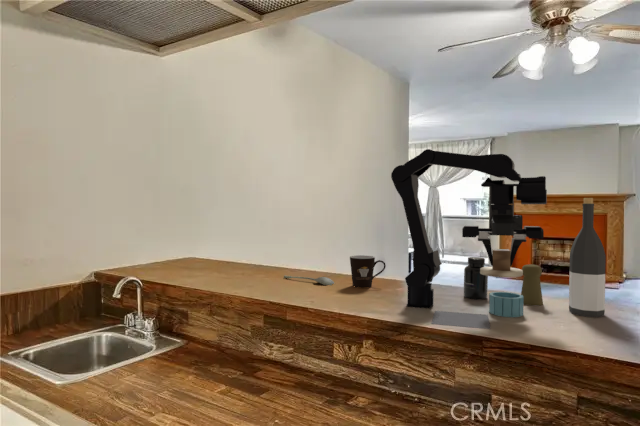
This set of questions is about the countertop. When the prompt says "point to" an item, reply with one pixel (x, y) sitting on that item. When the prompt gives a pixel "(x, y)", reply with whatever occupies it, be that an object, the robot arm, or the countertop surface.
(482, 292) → the supplement bottle
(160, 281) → the countertop surface
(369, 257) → the coffee mug
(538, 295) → the cork
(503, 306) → the ceramic bowl
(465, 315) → the rubber mat
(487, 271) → the wooden lid
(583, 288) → the wine bottle
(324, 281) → the soupspoon
